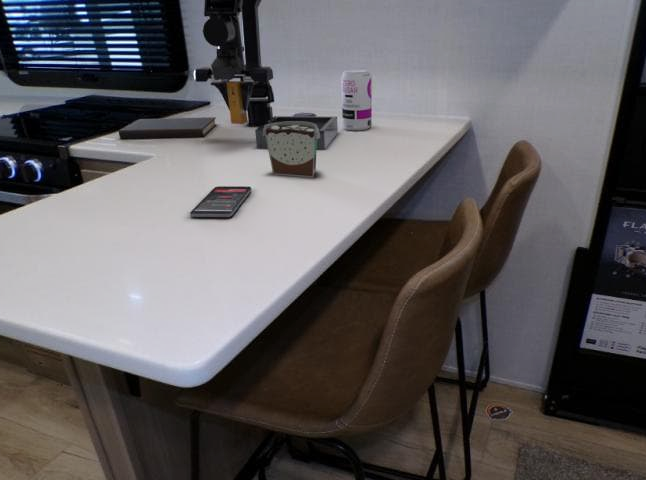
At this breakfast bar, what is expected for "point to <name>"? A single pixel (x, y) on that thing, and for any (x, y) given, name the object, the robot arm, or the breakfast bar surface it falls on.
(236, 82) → the supplement box
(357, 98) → the supplement can
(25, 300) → the breakfast bar surface
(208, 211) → the smartphone
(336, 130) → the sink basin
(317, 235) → the breakfast bar surface
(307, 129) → the food container
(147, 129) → the hardcover book
